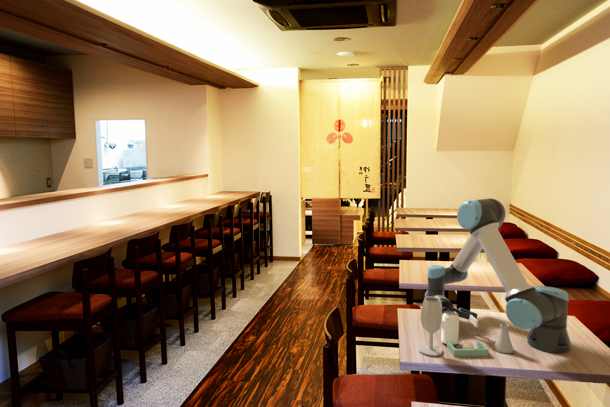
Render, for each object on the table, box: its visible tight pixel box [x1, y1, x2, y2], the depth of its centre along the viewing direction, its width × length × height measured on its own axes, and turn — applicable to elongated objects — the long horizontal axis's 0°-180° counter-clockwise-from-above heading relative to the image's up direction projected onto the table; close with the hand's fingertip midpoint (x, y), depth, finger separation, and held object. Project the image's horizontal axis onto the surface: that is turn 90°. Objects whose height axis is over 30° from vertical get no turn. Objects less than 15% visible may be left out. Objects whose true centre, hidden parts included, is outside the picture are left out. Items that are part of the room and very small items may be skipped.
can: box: [440, 311, 460, 346], centre depth 178 cm, size 6×6×12 cm
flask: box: [493, 323, 515, 354], centre depth 172 cm, size 7×7×10 cm
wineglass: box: [419, 296, 443, 357], centre depth 170 cm, size 9×9×21 cm
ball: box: [462, 341, 475, 349], centre depth 170 cm, size 4×4×4 cm
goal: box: [446, 340, 489, 358], centre depth 171 cm, size 8×13×2 cm, turn 91°
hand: (460, 324), depth 177 cm, fingers open, 13 cm apart
